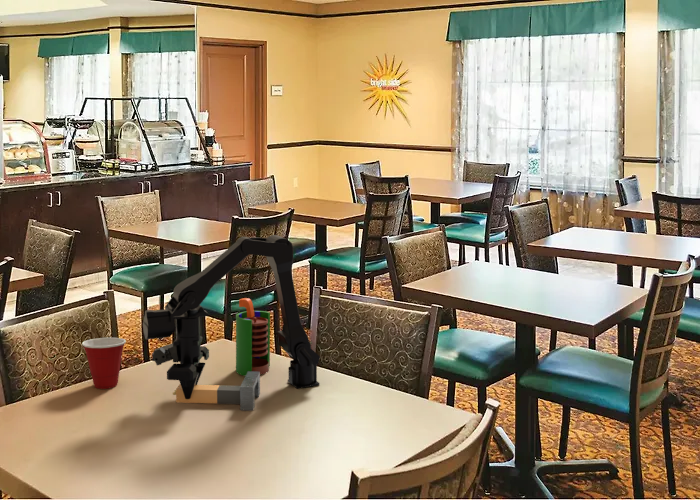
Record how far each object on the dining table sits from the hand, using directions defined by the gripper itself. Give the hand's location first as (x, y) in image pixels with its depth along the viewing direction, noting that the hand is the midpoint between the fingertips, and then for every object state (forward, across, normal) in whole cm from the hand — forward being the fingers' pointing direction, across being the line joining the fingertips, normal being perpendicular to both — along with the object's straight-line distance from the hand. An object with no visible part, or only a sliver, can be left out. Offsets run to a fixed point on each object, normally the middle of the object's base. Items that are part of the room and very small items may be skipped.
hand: (189, 396), depth 192 cm
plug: (+1, 0, +5) cm, 5 cm away
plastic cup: (+1, -10, -24) cm, 26 cm away
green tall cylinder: (+1, -24, +12) cm, 27 cm away
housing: (+1, 0, +15) cm, 15 cm away
